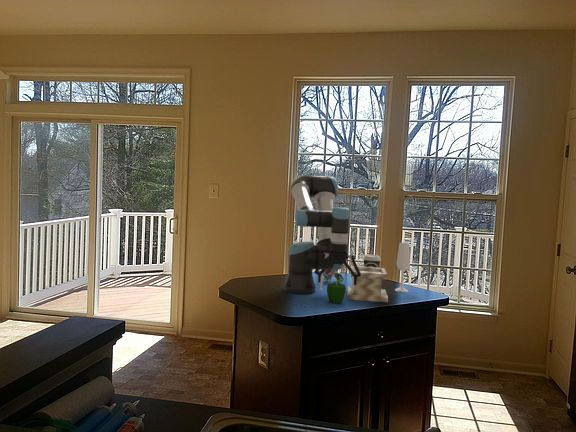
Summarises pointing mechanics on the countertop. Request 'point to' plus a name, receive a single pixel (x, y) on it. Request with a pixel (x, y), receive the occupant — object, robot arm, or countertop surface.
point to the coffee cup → (372, 261)
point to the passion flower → (330, 273)
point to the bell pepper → (336, 292)
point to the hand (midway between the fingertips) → (336, 291)
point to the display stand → (369, 285)
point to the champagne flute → (403, 262)
